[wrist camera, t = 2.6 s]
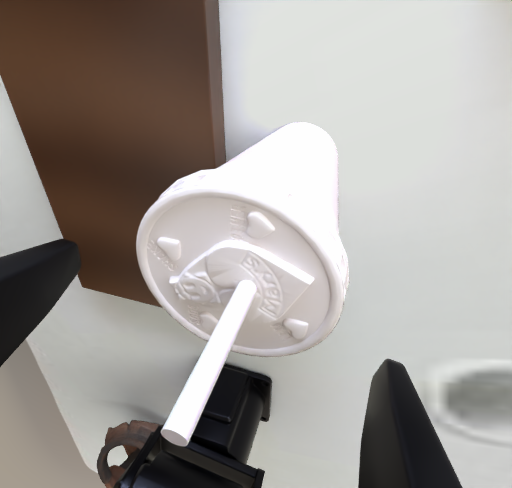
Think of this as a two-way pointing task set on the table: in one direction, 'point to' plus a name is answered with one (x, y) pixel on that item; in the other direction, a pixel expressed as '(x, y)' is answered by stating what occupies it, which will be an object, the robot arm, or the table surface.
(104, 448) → the brown irregular piece
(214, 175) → the smoothie
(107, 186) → the board
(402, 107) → the table surface
